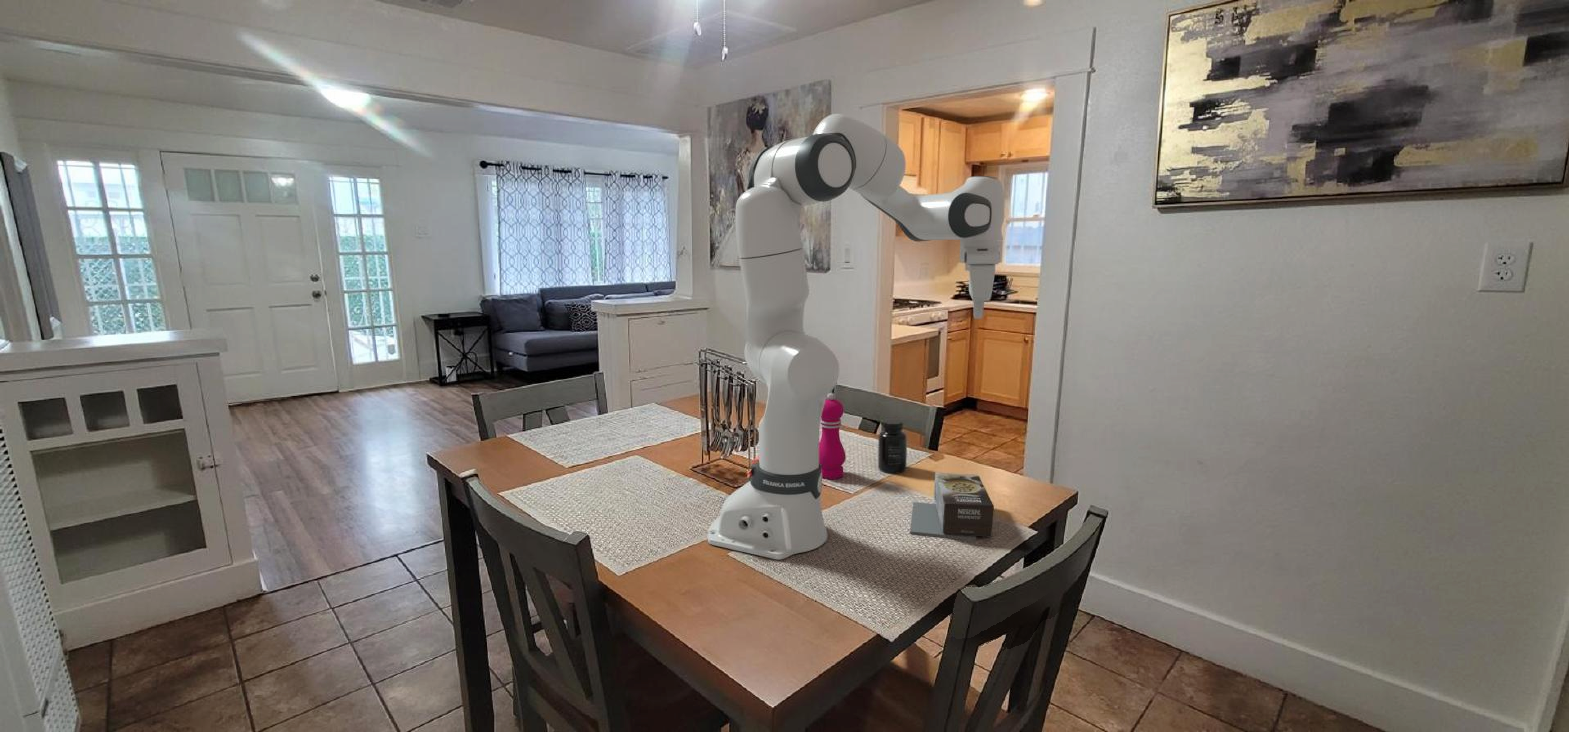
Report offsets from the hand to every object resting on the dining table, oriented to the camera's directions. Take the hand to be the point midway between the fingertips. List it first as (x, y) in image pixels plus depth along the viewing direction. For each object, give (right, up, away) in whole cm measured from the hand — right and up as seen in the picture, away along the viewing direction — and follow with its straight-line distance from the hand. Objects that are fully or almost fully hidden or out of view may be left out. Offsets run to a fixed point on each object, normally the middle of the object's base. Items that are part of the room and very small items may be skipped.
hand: (977, 318), depth 138 cm
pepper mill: (-32, -37, +10) cm, 50 cm away
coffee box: (-7, -36, -7) cm, 37 cm away
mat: (-12, -41, -15) cm, 45 cm away
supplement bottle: (-17, -36, +14) cm, 42 cm away
